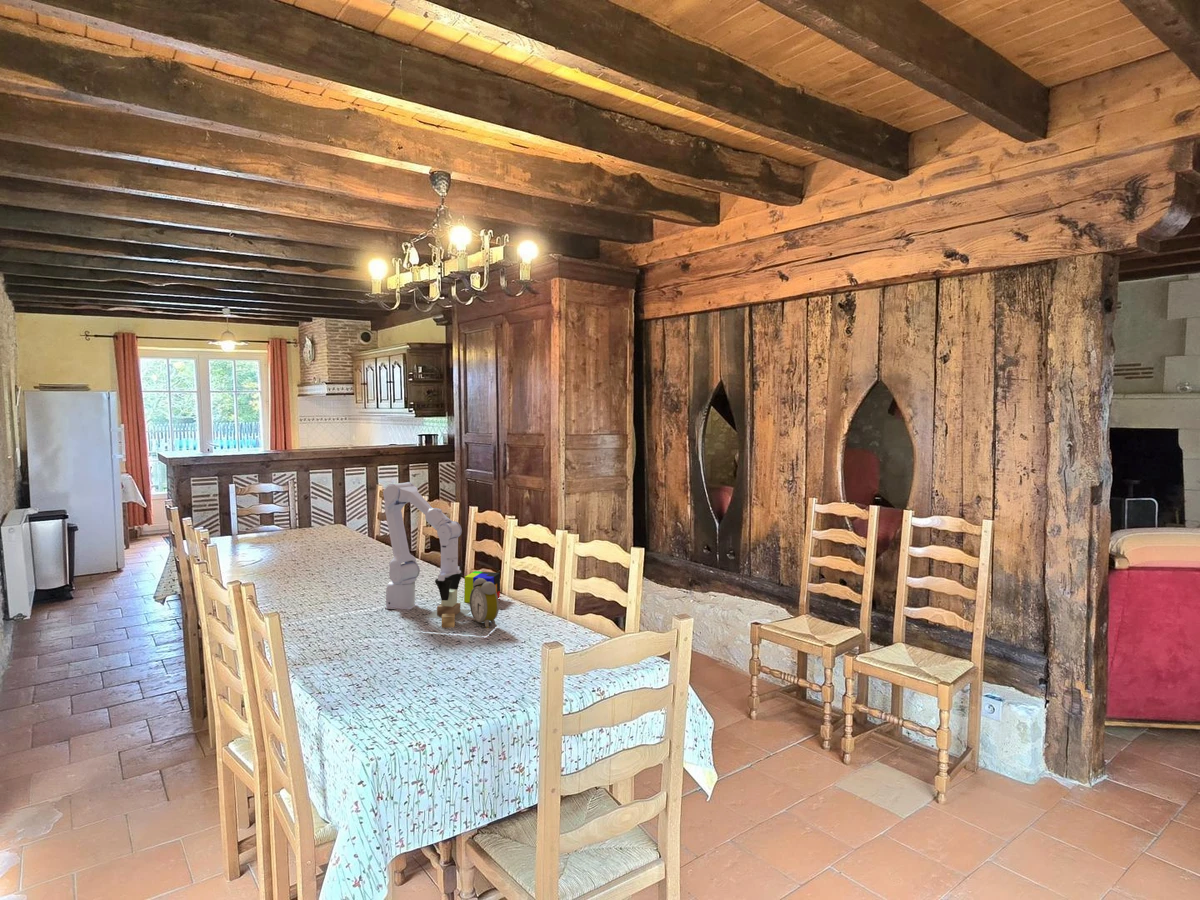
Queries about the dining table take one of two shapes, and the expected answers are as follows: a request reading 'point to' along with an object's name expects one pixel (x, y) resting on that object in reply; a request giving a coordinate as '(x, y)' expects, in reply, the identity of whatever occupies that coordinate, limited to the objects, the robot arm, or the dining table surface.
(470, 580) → the puzzle toy
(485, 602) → the alarm clock
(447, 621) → the ochre block
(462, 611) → the build board
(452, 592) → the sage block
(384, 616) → the dining table surface
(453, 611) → the base block
